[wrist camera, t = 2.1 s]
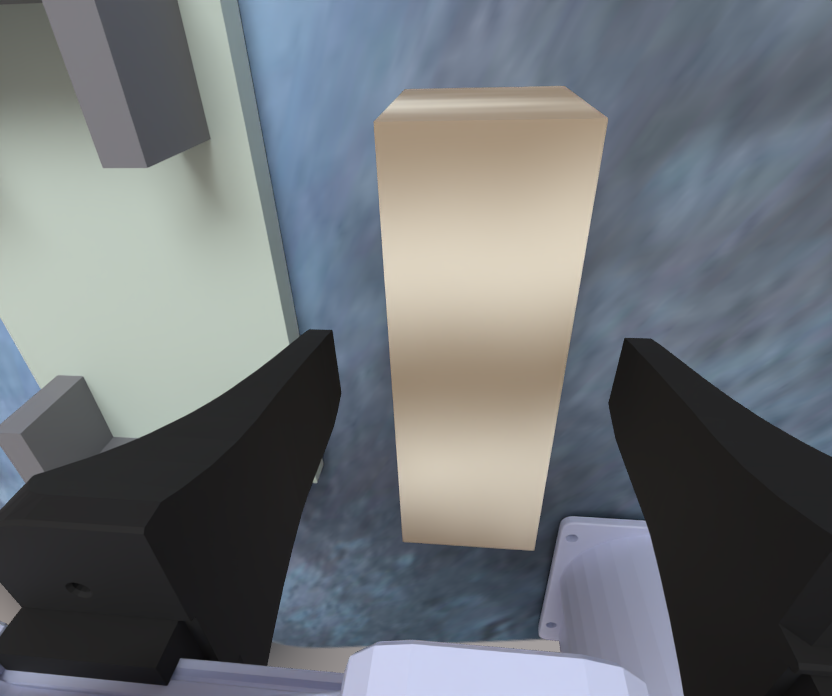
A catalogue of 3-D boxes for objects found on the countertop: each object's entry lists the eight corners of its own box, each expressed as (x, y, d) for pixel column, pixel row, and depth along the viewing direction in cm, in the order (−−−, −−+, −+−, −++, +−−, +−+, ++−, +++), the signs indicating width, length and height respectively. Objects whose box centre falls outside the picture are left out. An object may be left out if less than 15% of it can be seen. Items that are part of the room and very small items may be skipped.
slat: (521, 435, 19) (534, 551, 15) (417, 430, 19) (402, 541, 15) (563, 85, 12) (608, 118, 8) (405, 88, 13) (373, 122, 9)
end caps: (323, 464, 21) (294, 549, 17) (101, 452, 22) (33, 530, 18) (216, -115, 11) (100, -174, 7) (-186, -90, 12) (-444, -133, 8)
